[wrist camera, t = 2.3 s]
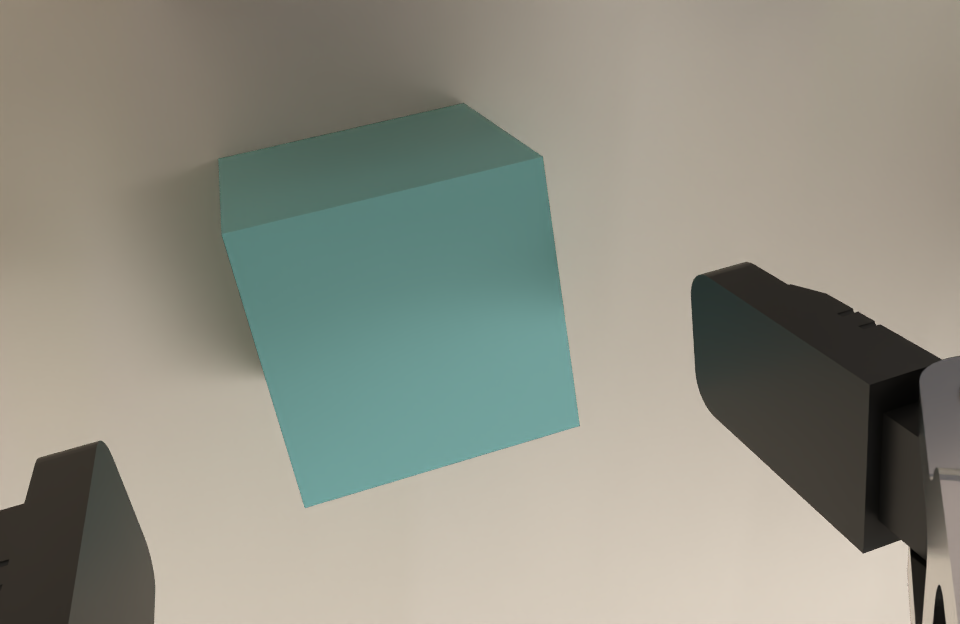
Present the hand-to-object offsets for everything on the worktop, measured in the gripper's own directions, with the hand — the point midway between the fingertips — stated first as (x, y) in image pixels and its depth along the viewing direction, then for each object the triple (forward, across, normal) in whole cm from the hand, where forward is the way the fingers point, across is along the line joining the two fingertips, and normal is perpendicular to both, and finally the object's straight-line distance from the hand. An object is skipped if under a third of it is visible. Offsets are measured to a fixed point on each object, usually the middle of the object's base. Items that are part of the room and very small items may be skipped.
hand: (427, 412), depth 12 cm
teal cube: (+8, -1, 0) cm, 8 cm away
